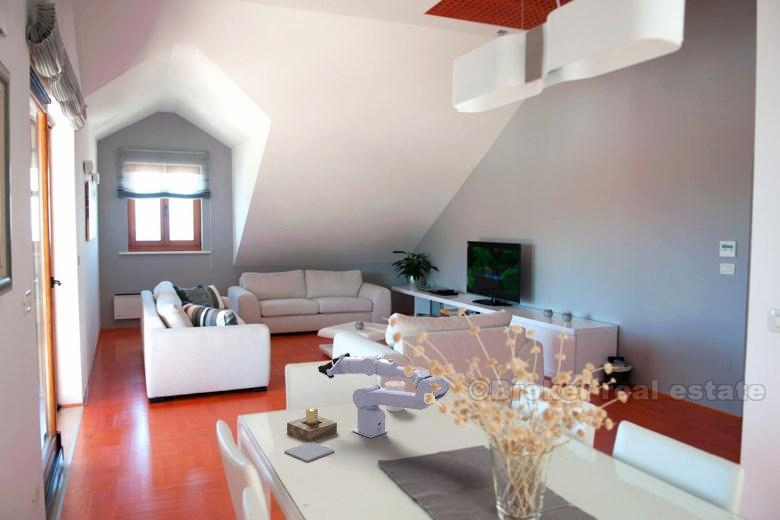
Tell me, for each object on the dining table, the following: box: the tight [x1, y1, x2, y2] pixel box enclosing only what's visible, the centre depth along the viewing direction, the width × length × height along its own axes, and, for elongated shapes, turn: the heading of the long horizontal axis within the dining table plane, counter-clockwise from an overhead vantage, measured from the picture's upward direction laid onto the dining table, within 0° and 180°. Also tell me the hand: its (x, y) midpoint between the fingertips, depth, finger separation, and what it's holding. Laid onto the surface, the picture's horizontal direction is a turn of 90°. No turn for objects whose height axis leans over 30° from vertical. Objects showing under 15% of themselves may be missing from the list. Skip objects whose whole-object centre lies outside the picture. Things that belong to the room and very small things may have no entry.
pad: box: [283, 441, 335, 463], centre depth 189 cm, size 11×11×1 cm
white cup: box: [384, 380, 406, 413], centre depth 233 cm, size 8×8×10 cm
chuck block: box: [286, 415, 338, 442], centre depth 206 cm, size 12×12×4 cm
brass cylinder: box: [305, 407, 319, 426], centre depth 206 cm, size 4×4×8 cm
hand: (326, 365), depth 219 cm, fingers open, 7 cm apart
